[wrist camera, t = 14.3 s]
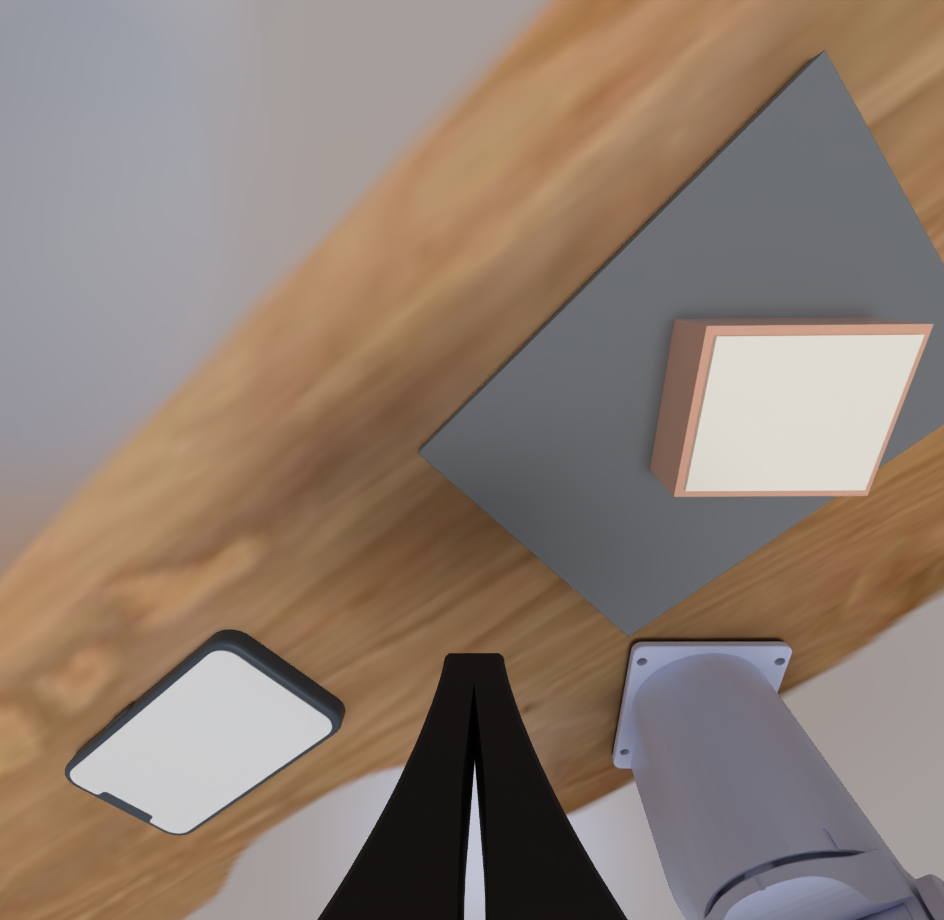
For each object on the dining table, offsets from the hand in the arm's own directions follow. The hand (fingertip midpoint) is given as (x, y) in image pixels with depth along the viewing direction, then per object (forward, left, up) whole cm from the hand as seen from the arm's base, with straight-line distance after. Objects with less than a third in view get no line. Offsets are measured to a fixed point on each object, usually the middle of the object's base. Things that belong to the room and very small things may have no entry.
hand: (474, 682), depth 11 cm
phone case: (-15, +16, -10) cm, 24 cm away
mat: (+4, -9, -9) cm, 14 cm away
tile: (+5, -7, -8) cm, 12 cm away
